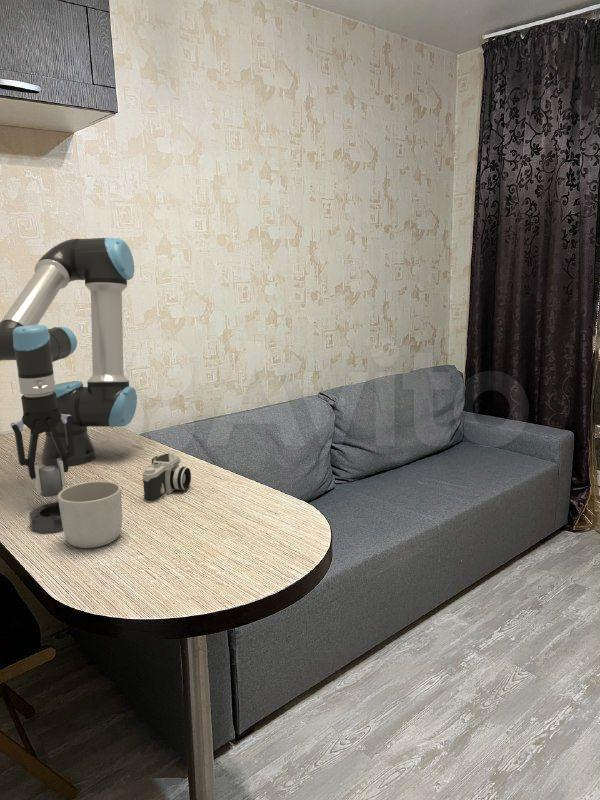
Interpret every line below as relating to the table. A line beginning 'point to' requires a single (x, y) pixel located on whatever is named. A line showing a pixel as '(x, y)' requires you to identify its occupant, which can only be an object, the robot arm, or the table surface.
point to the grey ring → (46, 519)
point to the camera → (164, 477)
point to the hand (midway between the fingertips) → (51, 487)
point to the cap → (50, 481)
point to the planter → (91, 513)
